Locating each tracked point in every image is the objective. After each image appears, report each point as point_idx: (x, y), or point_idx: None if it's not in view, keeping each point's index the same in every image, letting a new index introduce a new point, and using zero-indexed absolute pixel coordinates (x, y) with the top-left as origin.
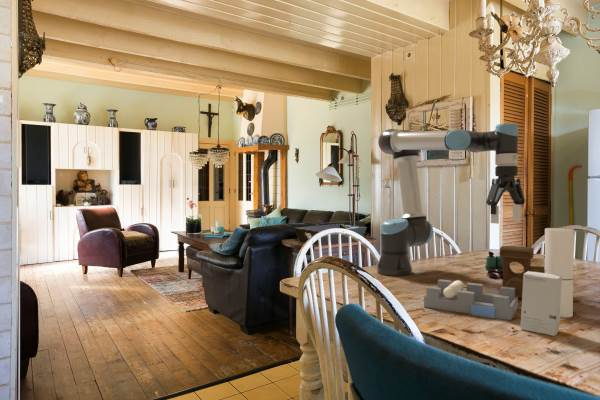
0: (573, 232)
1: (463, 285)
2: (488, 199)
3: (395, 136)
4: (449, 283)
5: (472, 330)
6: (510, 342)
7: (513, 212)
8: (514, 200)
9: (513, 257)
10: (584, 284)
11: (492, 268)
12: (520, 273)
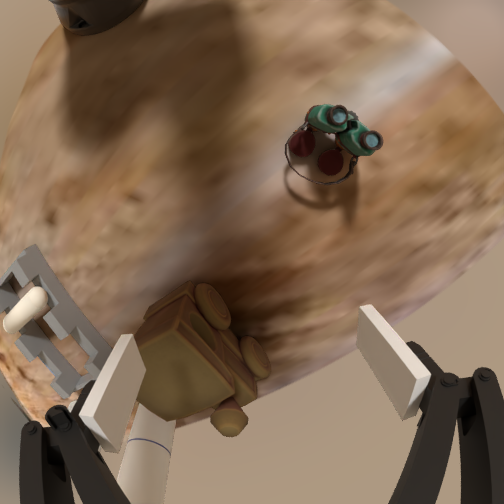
0: None
1: (42, 308)
2: (28, 452)
3: None
4: (25, 285)
5: (26, 374)
6: (47, 406)
7: (384, 344)
8: (425, 418)
9: None
10: (412, 298)
11: (318, 129)
12: (204, 329)
